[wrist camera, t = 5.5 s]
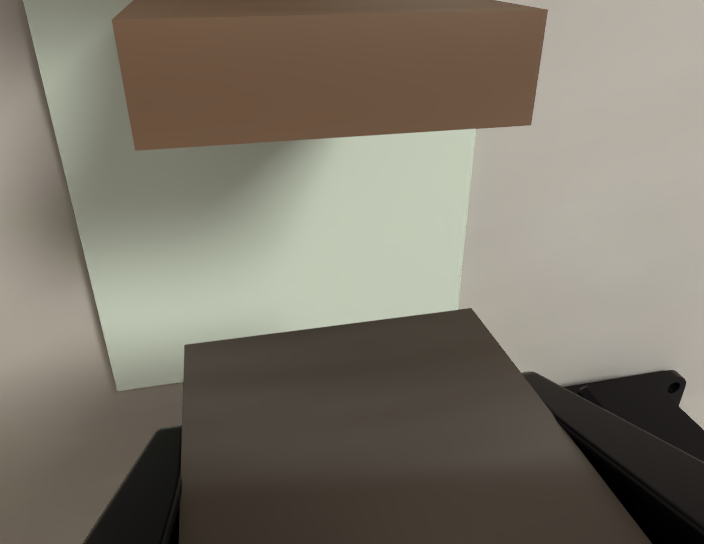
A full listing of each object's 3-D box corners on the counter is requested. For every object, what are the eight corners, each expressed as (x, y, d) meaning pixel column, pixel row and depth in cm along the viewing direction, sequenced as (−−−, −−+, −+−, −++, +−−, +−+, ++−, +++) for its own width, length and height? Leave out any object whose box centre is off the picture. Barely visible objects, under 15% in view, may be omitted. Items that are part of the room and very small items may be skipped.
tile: (464, 371, 11) (766, 843, 5) (195, 410, 10) (194, 1047, 4) (471, 308, 11) (824, 767, 5) (184, 345, 10) (166, 988, 4)
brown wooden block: (385, 48, 14) (530, 125, 8) (162, 55, 13) (135, 150, 7) (386, -19, 13) (547, 9, 7) (151, -17, 12) (111, 20, 6)
